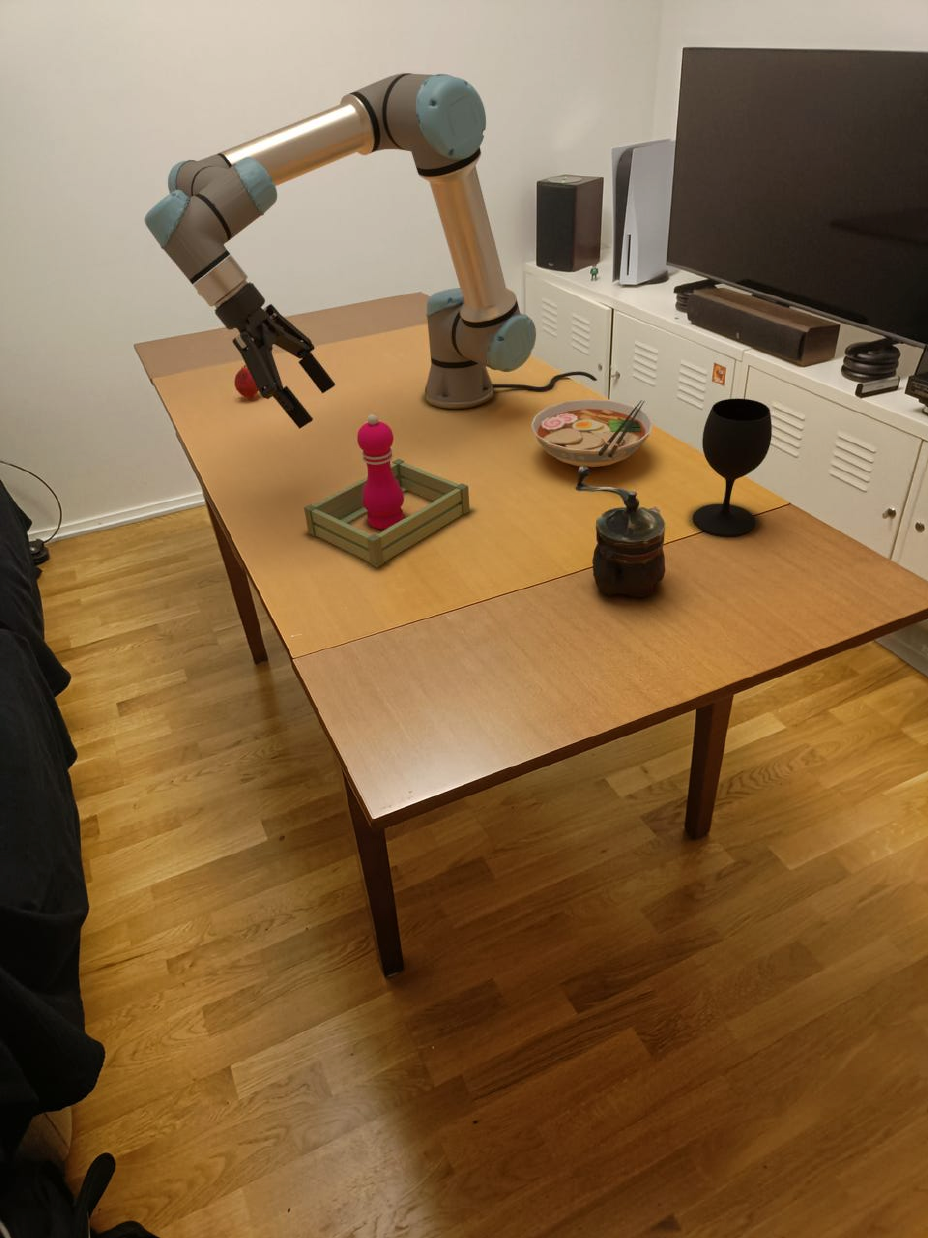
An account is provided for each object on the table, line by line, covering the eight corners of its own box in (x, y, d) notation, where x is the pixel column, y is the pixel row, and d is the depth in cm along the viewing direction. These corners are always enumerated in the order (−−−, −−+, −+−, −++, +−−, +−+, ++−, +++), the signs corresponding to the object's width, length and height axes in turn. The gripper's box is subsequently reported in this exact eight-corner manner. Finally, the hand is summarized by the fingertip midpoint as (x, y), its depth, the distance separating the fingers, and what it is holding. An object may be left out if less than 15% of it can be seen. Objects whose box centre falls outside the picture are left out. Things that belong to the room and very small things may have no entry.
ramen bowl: (557, 424, 177) (558, 386, 172) (665, 440, 168) (669, 401, 163) (510, 477, 159) (509, 438, 154) (627, 498, 151) (630, 457, 146)
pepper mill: (365, 512, 152) (350, 407, 140) (405, 508, 152) (394, 403, 140) (365, 533, 146) (349, 425, 134) (407, 529, 147) (394, 421, 135)
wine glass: (757, 509, 145) (777, 398, 133) (753, 540, 138) (774, 426, 126) (696, 502, 148) (710, 393, 136) (688, 532, 141) (702, 420, 129)
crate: (401, 483, 160) (398, 458, 157) (469, 511, 150) (468, 485, 147) (308, 533, 147) (303, 507, 144) (377, 568, 138) (373, 541, 134)
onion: (257, 403, 195) (250, 370, 190) (234, 402, 196) (226, 369, 191) (267, 393, 199) (260, 360, 194) (244, 392, 200) (236, 359, 195)
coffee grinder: (587, 553, 138) (591, 452, 127) (675, 575, 131) (687, 471, 120) (553, 594, 129) (554, 489, 118) (645, 620, 123) (655, 512, 112)
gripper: (241, 282, 142) (321, 385, 152) (182, 336, 123) (278, 451, 132) (273, 257, 139) (353, 365, 148) (218, 309, 119) (313, 428, 129)
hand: (318, 405), depth 140 cm, fingers open, 13 cm apart
